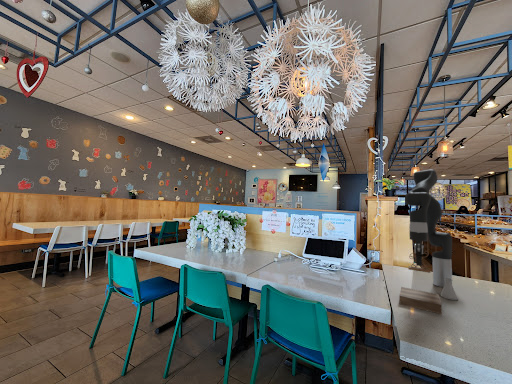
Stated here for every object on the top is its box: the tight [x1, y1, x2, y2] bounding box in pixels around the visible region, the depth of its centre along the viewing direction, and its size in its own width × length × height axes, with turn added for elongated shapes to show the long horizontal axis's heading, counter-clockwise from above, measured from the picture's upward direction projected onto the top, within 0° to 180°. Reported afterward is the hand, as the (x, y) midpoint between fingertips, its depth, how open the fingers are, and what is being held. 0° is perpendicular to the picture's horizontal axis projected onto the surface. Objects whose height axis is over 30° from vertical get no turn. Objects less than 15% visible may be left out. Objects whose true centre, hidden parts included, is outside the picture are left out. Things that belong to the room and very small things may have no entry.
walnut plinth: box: [399, 286, 443, 315], centre depth 110 cm, size 16×16×4 cm
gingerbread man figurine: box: [407, 247, 431, 274], centre depth 111 cm, size 9×4×12 cm, turn 54°
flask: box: [439, 278, 459, 301], centre depth 118 cm, size 7×7×10 cm
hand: (419, 265), depth 111 cm, fingers closed on gingerbread man figurine, 1 cm apart
